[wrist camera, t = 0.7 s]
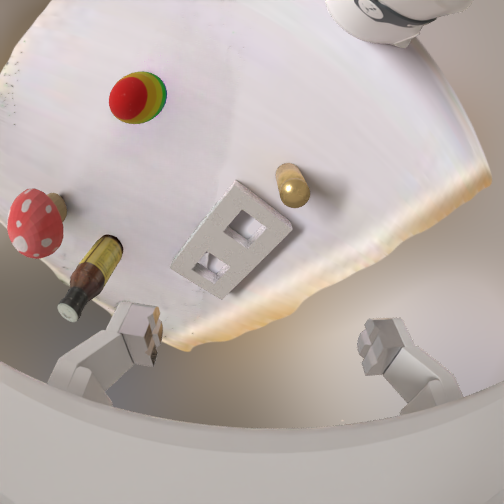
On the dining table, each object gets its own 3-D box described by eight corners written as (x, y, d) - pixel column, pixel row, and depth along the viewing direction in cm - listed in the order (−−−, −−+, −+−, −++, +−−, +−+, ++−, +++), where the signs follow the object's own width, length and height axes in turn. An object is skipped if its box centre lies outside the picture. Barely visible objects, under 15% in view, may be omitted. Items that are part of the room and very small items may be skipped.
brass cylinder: (286, 158, 41) (294, 173, 34) (305, 173, 43) (316, 192, 35) (270, 176, 43) (273, 195, 35) (289, 191, 44) (296, 213, 37)
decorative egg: (182, 97, 36) (161, 99, 28) (145, 130, 39) (117, 141, 30) (152, 63, 32) (125, 57, 24) (117, 97, 35) (84, 101, 27)
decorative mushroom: (60, 240, 50) (23, 280, 37) (31, 191, 43) (-13, 224, 31) (96, 217, 47) (54, 260, 34) (64, 161, 40) (13, 190, 28)
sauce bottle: (103, 258, 52) (58, 324, 35) (96, 232, 49) (43, 295, 32) (129, 259, 52) (87, 330, 35) (123, 232, 49) (73, 301, 32)
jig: (235, 179, 43) (234, 185, 41) (290, 221, 47) (292, 229, 45) (173, 258, 52) (169, 267, 49) (223, 290, 56) (221, 299, 53)
